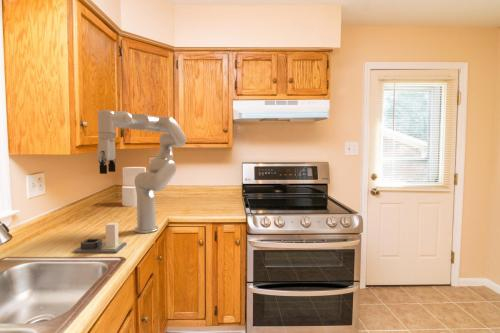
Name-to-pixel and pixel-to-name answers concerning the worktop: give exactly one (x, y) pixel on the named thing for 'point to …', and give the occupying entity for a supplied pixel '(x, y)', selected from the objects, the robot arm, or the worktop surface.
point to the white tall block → (130, 185)
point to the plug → (112, 235)
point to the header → (98, 247)
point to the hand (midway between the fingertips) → (107, 172)
